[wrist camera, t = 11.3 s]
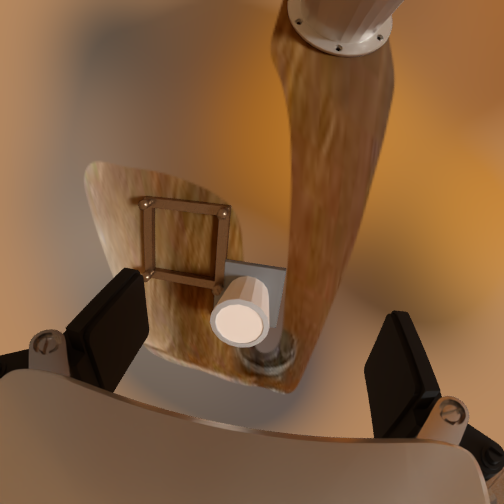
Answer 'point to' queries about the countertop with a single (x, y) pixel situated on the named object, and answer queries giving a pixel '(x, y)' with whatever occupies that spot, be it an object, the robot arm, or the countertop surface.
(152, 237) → the brown square frame
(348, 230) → the countertop surface
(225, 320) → the shot glass
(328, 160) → the countertop surface
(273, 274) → the coaster
